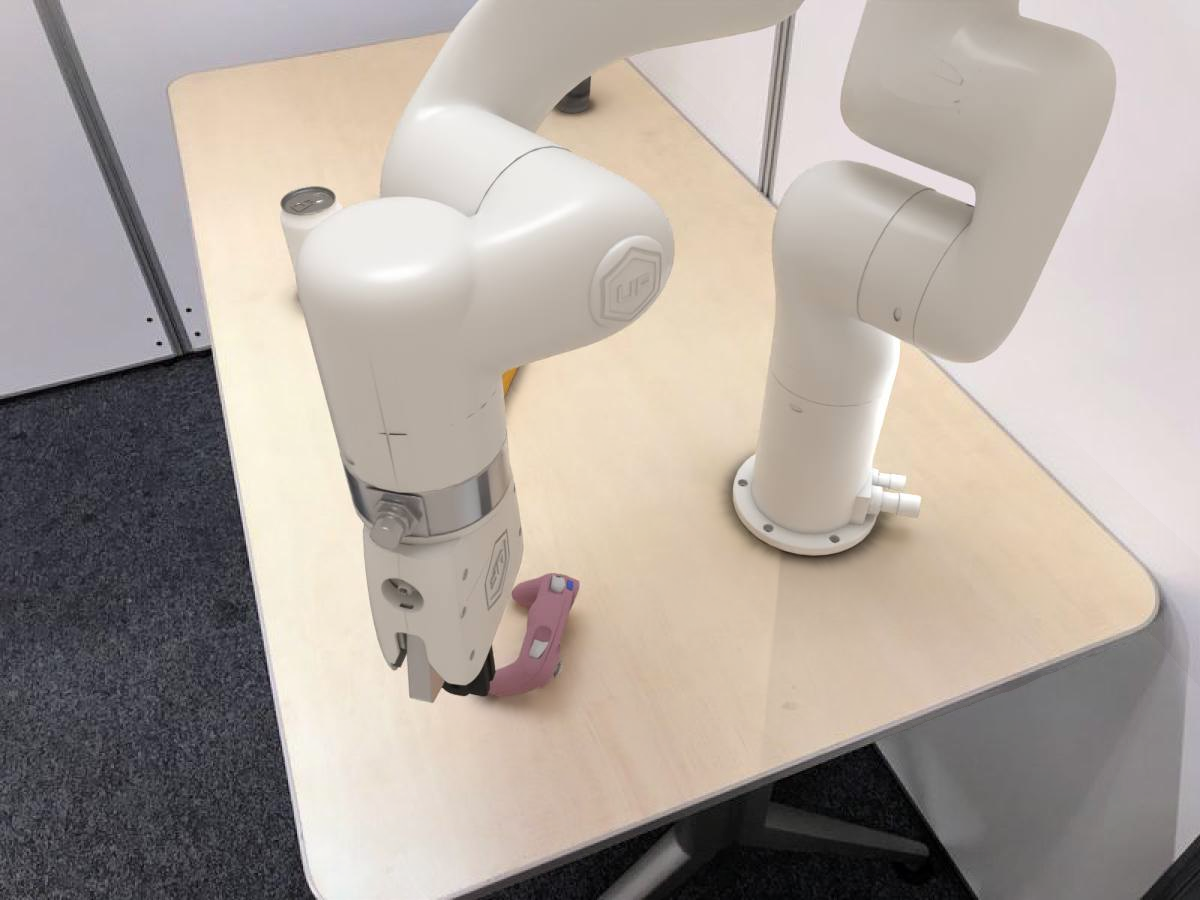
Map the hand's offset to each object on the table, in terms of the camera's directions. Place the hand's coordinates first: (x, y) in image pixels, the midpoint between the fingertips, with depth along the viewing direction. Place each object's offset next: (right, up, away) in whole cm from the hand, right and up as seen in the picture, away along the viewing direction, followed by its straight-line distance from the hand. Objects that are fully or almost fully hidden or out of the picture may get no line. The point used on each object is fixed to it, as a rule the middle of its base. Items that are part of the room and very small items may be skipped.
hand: (466, 680), depth 58 cm
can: (-22, +31, +51) cm, 64 cm away
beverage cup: (+4, +64, +83) cm, 105 cm away
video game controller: (+3, -2, +17) cm, 18 cm away
